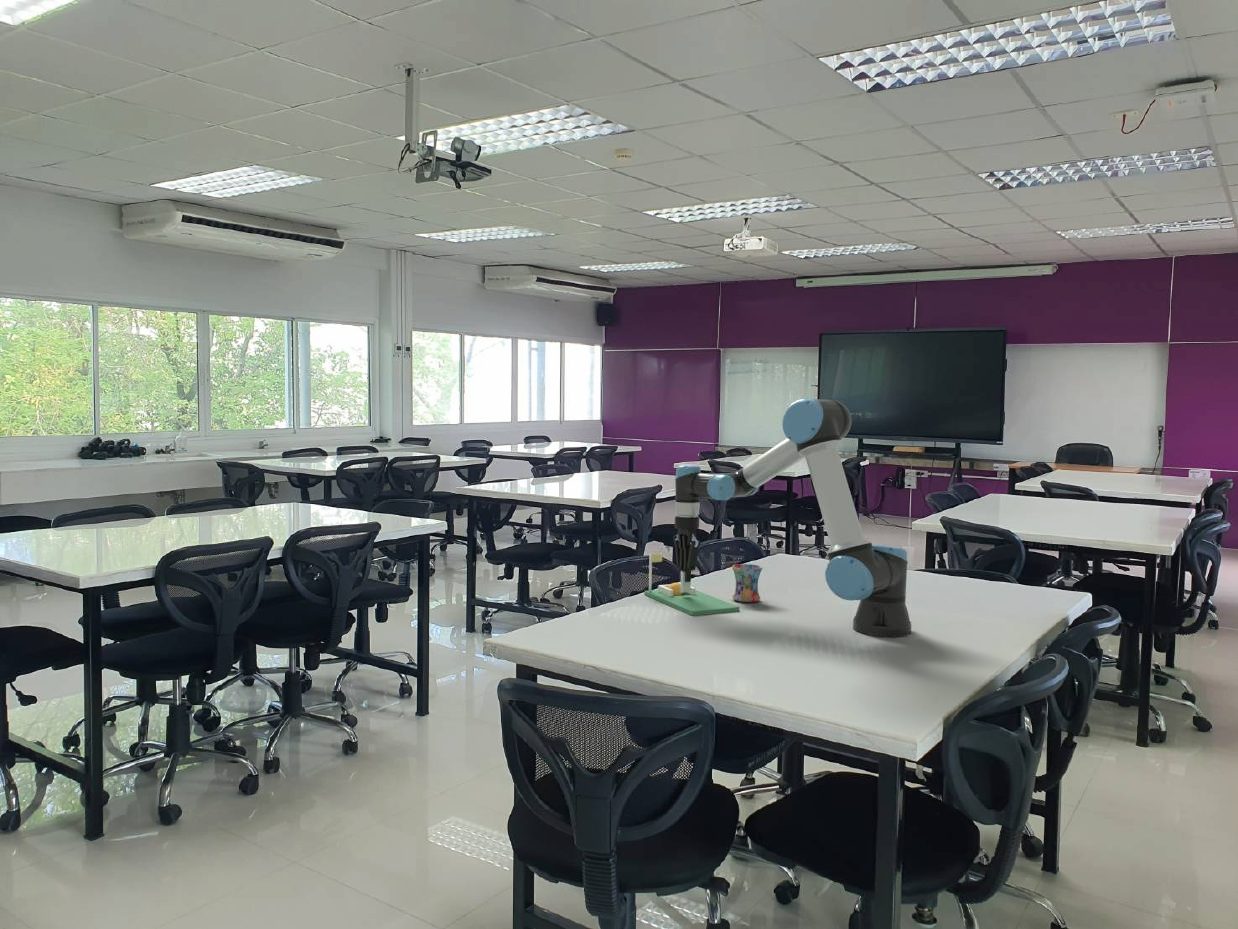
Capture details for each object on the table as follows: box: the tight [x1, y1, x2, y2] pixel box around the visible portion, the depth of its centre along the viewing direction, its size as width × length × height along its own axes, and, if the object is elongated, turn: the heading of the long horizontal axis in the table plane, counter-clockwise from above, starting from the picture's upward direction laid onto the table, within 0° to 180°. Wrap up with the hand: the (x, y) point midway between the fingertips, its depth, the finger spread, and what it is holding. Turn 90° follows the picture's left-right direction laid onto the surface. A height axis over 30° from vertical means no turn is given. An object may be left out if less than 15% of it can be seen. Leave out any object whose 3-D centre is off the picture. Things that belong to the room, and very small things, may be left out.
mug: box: [731, 563, 763, 603], centre depth 269 cm, size 12×9×11 cm
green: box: [644, 552, 741, 616], centre depth 263 cm, size 30×16×13 cm, turn 25°
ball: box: [669, 582, 682, 596], centre depth 271 cm, size 4×4×4 cm
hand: (685, 591), depth 266 cm, fingers closed
